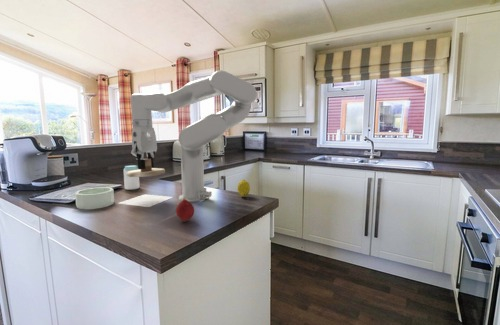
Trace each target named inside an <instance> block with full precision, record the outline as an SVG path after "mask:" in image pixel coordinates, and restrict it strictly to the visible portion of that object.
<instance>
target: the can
mask: <svg viewBox="0 0 500 325" xmlns="http://www.w3.org/2000/svg"><path fill="white" fill-rule="evenodd" d="M137 169H138V165H135V164H134V165H133V164H131V165H125V166H124V168H123V182H124V190H126V191H129V190H137V189H139V188H140V177H129V176H127V172H128V171H132V170H137Z"/></svg>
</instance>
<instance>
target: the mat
mask: <svg viewBox="0 0 500 325" xmlns="http://www.w3.org/2000/svg"><path fill="white" fill-rule="evenodd" d="M172 198H174V196H165V195H157V194H146V193H145V194H142V195H138V196H135V197H132V198H129V199H126V200H123V201H120V202H117V205H118V204H119V205H127V206H134V207H135V206H136V207H144V208H151V207H152V206H155V205H157V204H161V203H163V202H165V201H167V200H170V199H172Z"/></svg>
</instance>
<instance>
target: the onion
mask: <svg viewBox="0 0 500 325" xmlns="http://www.w3.org/2000/svg"><path fill="white" fill-rule="evenodd" d="M175 214H176V216H177V217H178V218H179V219H180V220H182V221H183V222H184V223H185V222H188V221H189V220H190V219H191V218H192V217H193V215H194V214H195V207H194V205H193V204H192V202H189V201H187V200H186V199H185V198H183V201H180V202H179V203H178V205H176V209H175Z"/></svg>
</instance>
